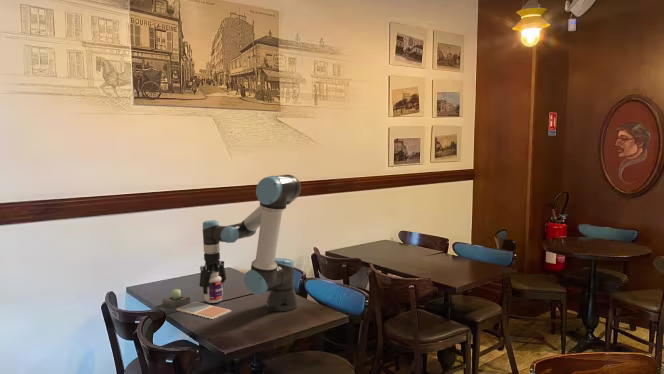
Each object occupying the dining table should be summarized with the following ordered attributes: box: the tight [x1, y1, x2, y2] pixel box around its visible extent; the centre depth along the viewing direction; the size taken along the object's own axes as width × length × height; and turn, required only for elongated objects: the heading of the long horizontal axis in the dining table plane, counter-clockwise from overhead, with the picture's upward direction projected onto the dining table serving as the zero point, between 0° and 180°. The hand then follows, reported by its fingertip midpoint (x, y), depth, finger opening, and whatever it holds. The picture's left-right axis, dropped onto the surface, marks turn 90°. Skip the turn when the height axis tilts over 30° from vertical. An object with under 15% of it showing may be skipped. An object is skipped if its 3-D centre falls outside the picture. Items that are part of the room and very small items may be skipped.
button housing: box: [162, 294, 191, 309], centre depth 233 cm, size 9×9×3 cm
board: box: [175, 301, 232, 320], centre depth 223 cm, size 24×12×1 cm, turn 58°
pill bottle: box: [205, 271, 223, 304], centre depth 234 cm, size 8×8×14 cm
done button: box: [170, 288, 182, 300], centre depth 233 cm, size 4×4×4 cm
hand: (213, 297), depth 235 cm, fingers closed on pill bottle, 8 cm apart
